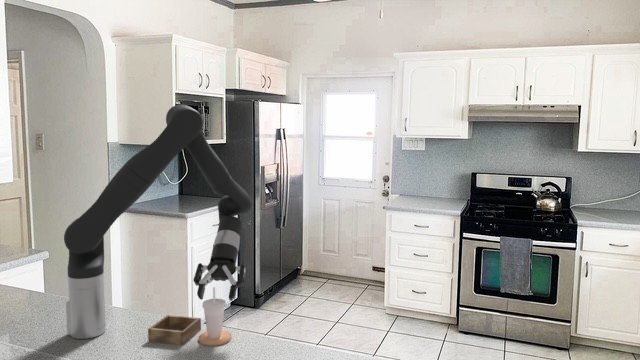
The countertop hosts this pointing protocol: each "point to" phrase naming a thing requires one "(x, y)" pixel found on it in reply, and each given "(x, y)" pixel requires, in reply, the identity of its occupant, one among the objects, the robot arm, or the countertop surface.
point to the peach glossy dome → (221, 340)
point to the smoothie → (214, 316)
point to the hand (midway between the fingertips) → (215, 298)
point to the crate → (173, 336)
